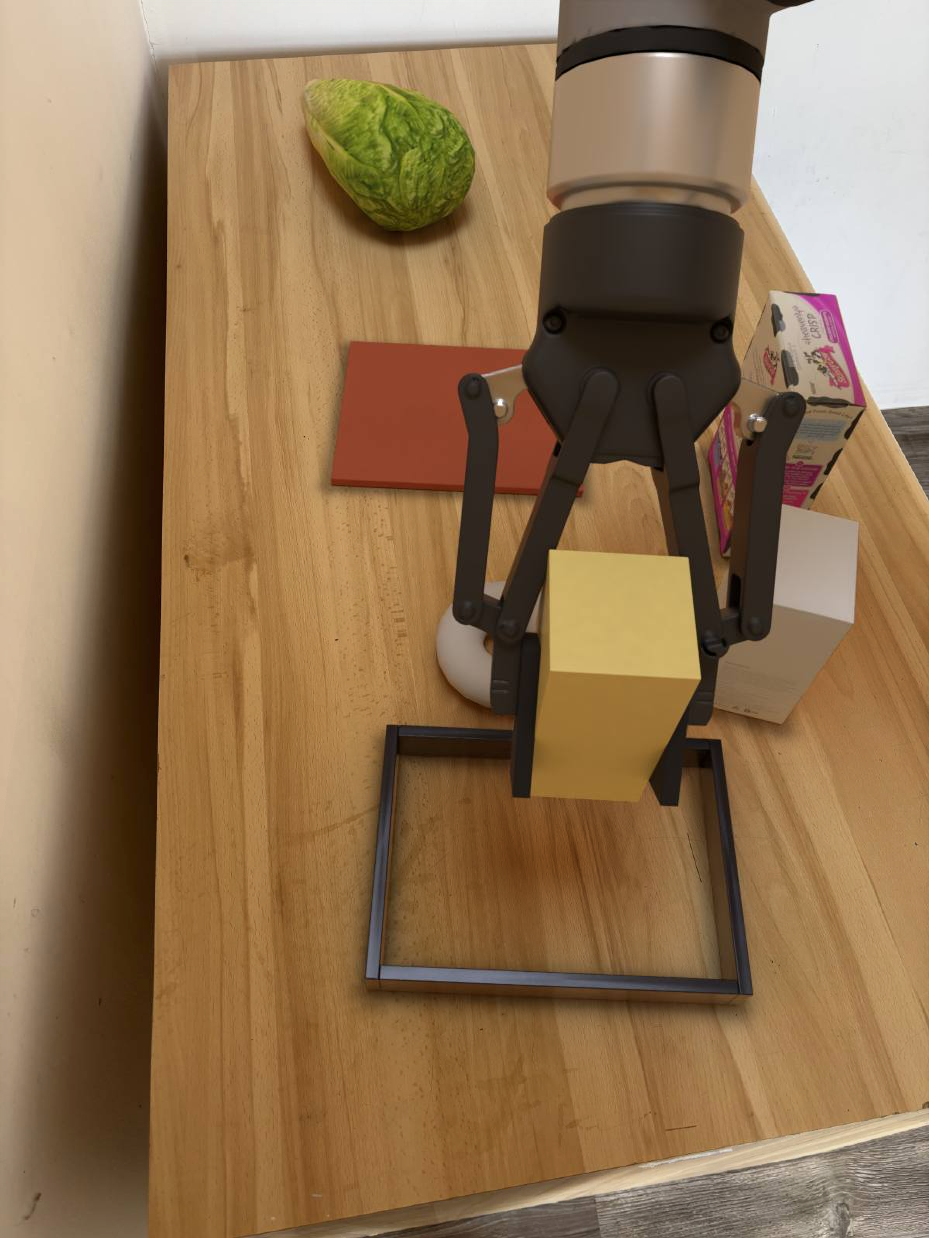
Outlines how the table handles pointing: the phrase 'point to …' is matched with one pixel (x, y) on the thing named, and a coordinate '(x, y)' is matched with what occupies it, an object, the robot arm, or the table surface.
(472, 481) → the robot arm
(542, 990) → the frame
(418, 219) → the lettuce
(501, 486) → the mat
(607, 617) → the carton
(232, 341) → the table surface
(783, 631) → the small box
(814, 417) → the candy bar box
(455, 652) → the donut
